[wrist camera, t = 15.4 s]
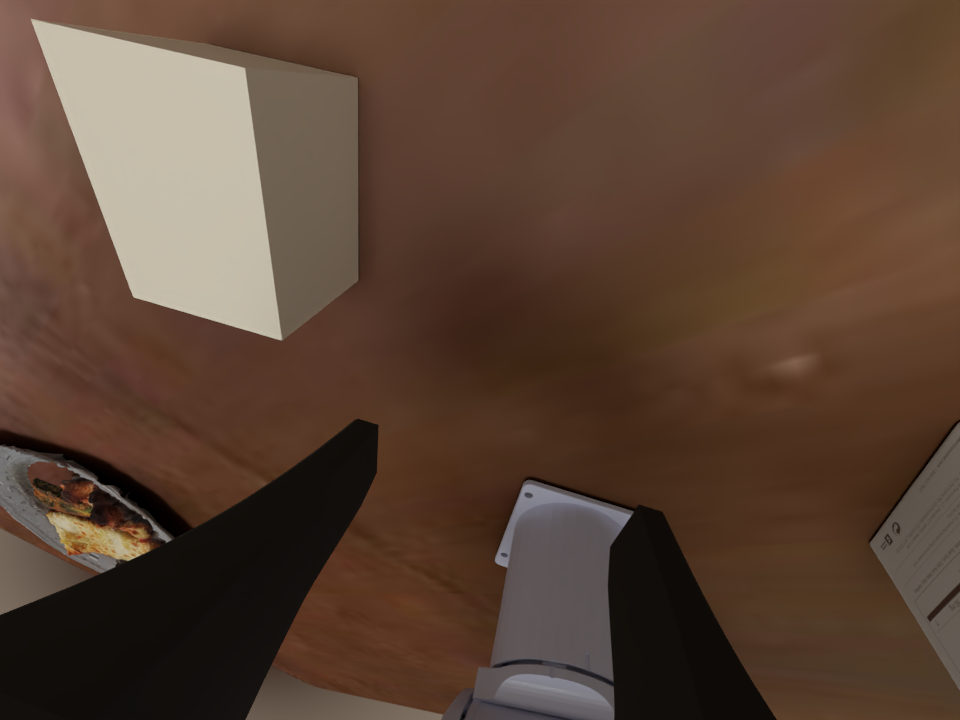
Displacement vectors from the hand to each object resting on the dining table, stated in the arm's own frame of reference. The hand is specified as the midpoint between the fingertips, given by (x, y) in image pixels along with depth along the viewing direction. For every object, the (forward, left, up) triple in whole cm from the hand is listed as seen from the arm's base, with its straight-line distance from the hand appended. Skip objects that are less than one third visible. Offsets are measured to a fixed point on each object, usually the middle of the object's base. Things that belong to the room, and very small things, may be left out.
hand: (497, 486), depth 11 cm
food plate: (-36, +38, -10) cm, 53 cm away
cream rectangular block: (+4, +12, -9) cm, 16 cm away
